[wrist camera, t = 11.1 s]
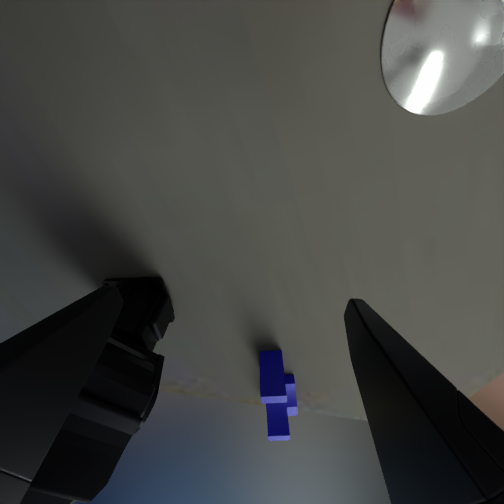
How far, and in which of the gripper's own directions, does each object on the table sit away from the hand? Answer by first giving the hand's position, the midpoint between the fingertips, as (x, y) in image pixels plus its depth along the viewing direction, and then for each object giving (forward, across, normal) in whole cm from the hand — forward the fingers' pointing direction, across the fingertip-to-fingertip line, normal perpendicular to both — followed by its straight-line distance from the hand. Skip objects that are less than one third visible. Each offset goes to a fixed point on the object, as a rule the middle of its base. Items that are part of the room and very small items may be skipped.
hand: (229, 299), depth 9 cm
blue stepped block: (+12, -4, +28) cm, 31 cm away
